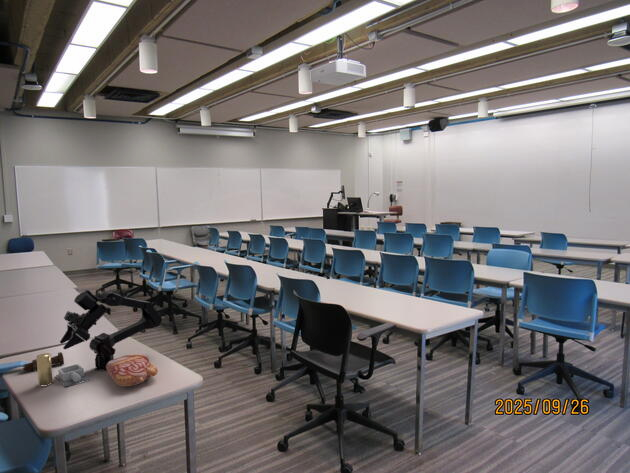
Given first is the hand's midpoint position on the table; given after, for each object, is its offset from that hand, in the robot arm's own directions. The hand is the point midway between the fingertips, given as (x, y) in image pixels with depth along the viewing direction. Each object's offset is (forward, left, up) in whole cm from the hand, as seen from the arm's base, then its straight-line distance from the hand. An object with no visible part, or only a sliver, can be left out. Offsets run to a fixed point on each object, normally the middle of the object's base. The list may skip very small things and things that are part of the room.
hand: (62, 345), depth 176 cm
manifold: (-3, 0, -14) cm, 14 cm away
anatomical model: (-28, +1, -14) cm, 31 cm away
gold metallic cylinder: (+5, +5, -14) cm, 16 cm away
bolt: (+15, -12, -14) cm, 24 cm away
